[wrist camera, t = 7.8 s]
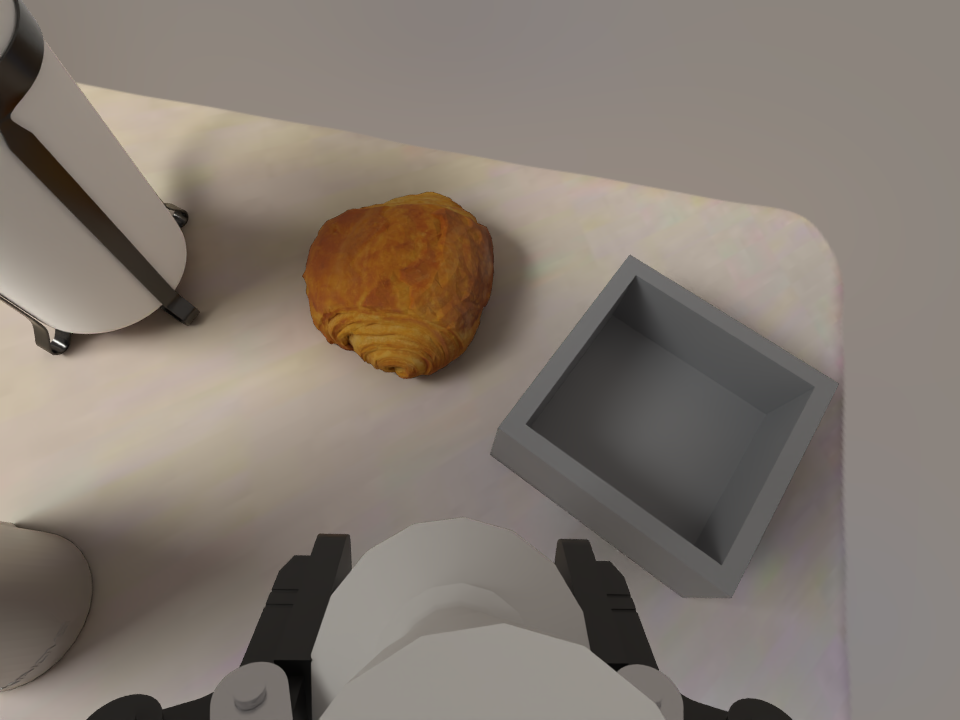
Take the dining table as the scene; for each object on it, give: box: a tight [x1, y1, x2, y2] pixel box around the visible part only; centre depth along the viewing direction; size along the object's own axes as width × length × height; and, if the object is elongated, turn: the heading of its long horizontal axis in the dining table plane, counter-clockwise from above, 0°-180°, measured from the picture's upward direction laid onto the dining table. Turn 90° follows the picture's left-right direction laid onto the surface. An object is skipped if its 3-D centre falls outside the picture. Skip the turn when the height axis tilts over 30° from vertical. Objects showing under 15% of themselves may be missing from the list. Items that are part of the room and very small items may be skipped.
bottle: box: [311, 517, 665, 720], centre depth 14 cm, size 5×5×25 cm
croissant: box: [302, 192, 494, 379], centre depth 42 cm, size 14×16×8 cm
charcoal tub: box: [490, 255, 839, 598], centre depth 38 cm, size 16×16×7 cm
